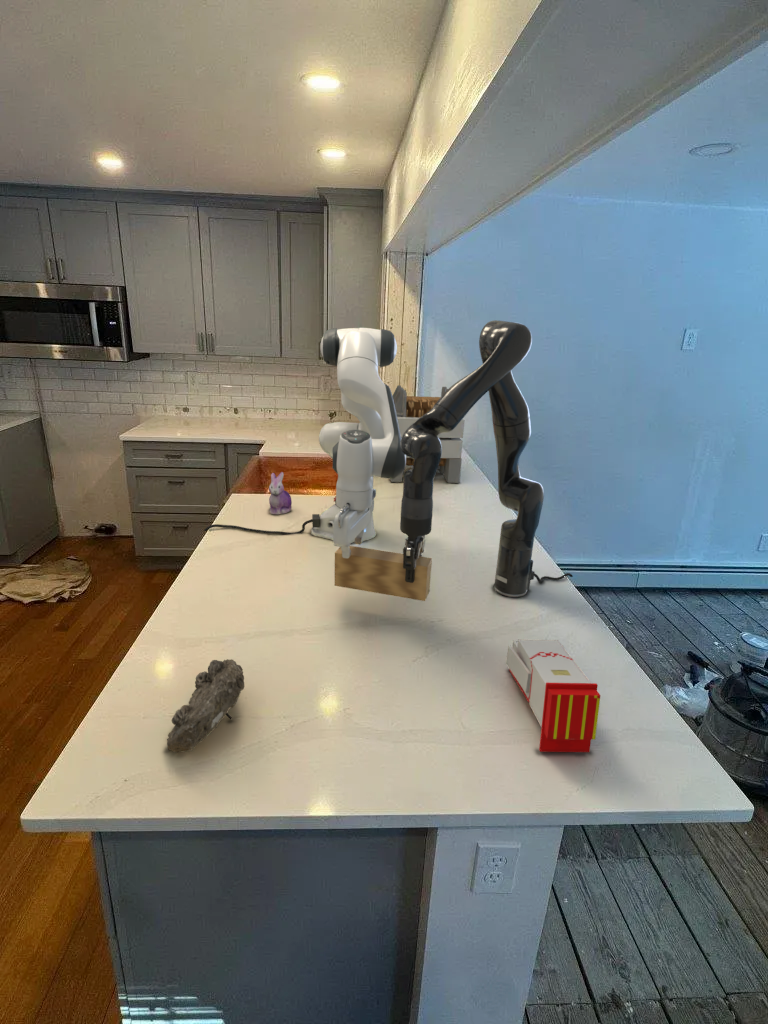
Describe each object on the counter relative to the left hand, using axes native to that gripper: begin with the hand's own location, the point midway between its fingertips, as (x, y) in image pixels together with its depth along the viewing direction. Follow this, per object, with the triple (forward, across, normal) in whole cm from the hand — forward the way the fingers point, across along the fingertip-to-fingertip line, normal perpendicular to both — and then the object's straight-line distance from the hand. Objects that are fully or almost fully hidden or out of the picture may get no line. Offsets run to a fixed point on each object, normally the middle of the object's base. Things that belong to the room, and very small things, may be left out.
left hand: (352, 550), depth 143 cm
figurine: (+16, +61, +50) cm, 81 cm away
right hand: (+5, 0, -16) cm, 16 cm away
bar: (+10, 0, -8) cm, 12 cm away
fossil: (+17, -48, +11) cm, 52 cm away
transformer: (+16, +136, +12) cm, 137 cm away
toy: (+17, -23, -49) cm, 57 cm away
